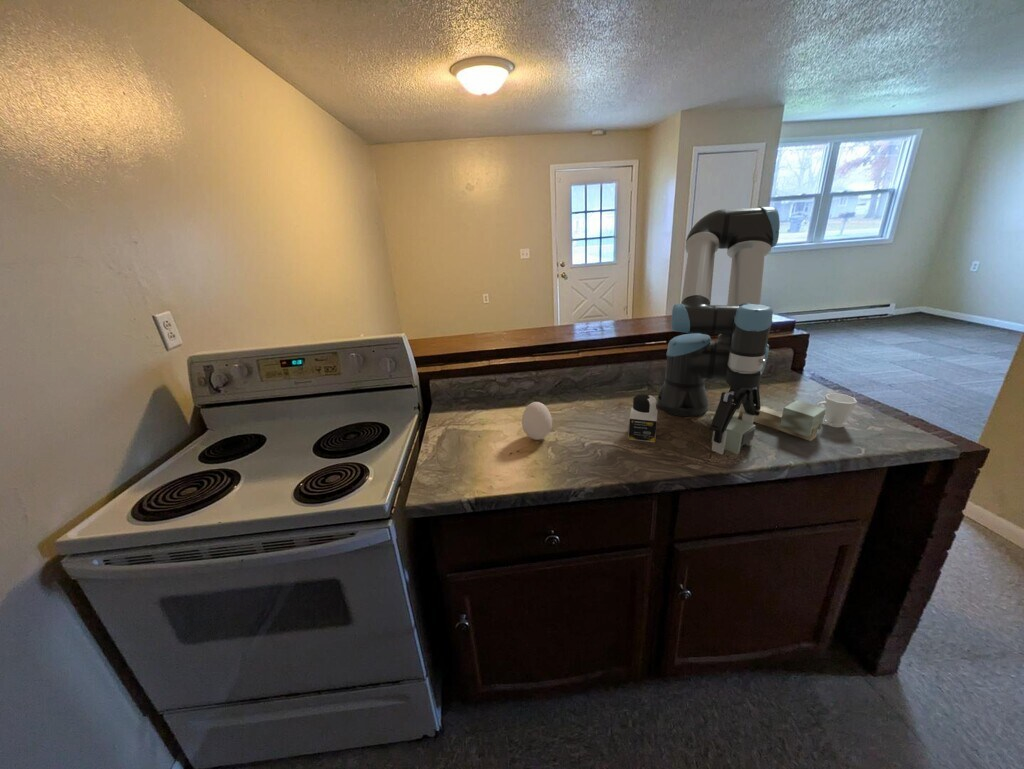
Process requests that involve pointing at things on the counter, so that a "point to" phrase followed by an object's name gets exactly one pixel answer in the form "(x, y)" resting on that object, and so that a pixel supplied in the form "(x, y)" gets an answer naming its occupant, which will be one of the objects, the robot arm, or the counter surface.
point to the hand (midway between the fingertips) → (731, 443)
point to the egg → (536, 421)
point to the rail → (776, 421)
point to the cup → (837, 409)
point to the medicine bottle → (643, 418)
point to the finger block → (738, 435)
